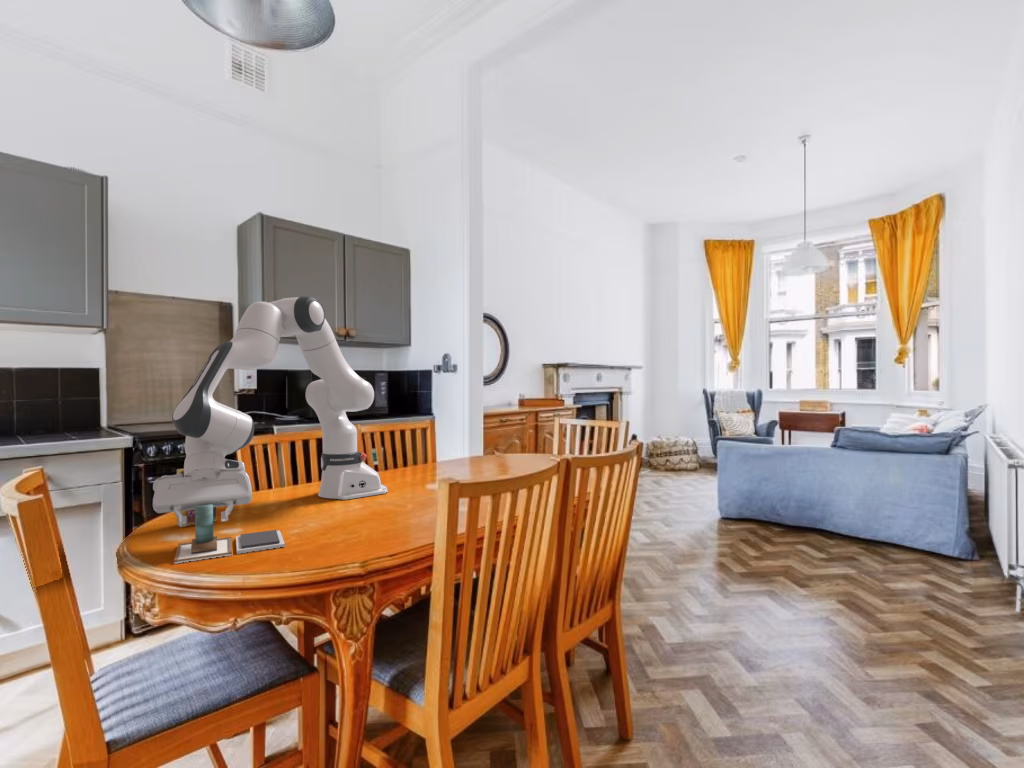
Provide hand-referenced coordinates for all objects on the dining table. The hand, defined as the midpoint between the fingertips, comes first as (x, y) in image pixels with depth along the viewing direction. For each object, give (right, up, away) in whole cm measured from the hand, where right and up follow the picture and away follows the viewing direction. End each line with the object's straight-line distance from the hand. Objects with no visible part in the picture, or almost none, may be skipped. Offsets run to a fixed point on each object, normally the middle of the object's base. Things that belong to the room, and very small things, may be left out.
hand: (204, 522), depth 122 cm
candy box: (-15, -6, +23) cm, 29 cm away
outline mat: (0, -7, +1) cm, 7 cm away
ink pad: (+10, -7, +6) cm, 13 cm away
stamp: (0, -6, +1) cm, 6 cm away
